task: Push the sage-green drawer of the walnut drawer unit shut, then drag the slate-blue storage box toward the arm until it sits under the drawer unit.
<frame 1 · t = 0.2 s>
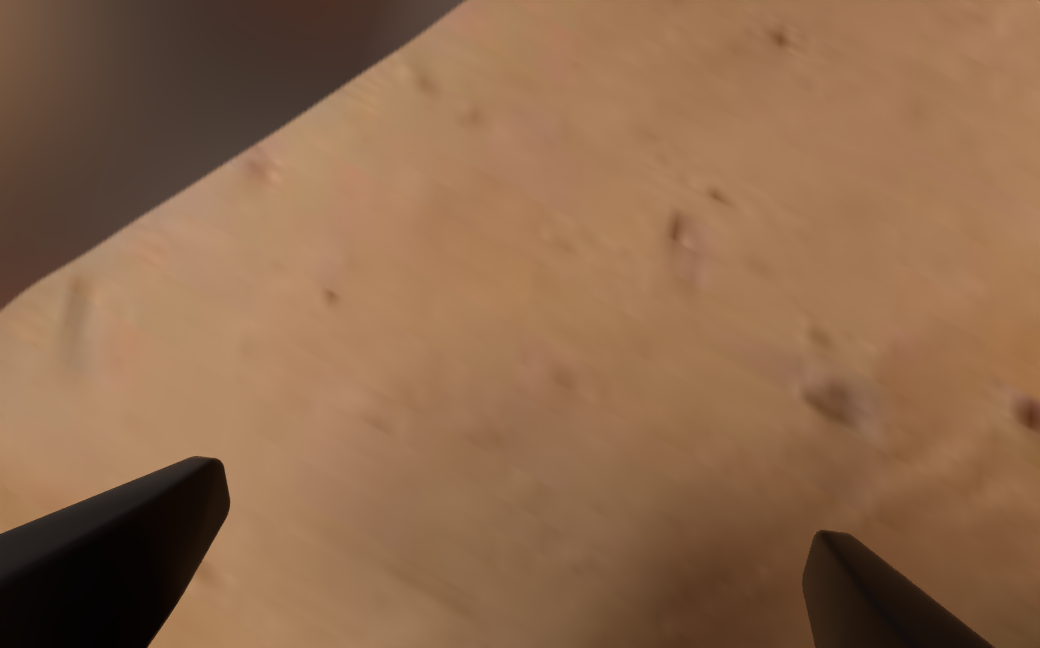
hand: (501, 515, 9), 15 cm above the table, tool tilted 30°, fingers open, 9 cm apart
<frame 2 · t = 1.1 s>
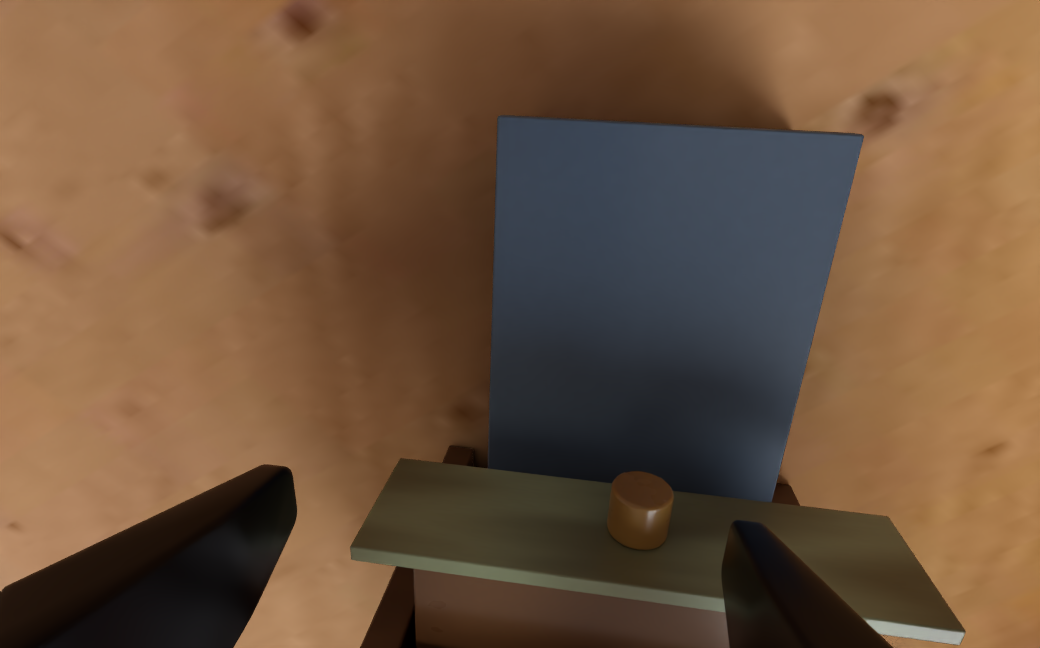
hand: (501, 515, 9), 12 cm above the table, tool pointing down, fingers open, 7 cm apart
storage box: (634, 308, 20), on the table
drawer: (619, 645, 15), point 8 cm above the table, slide at 3.0 cm
drawer unit: (603, 555, 24), on the table
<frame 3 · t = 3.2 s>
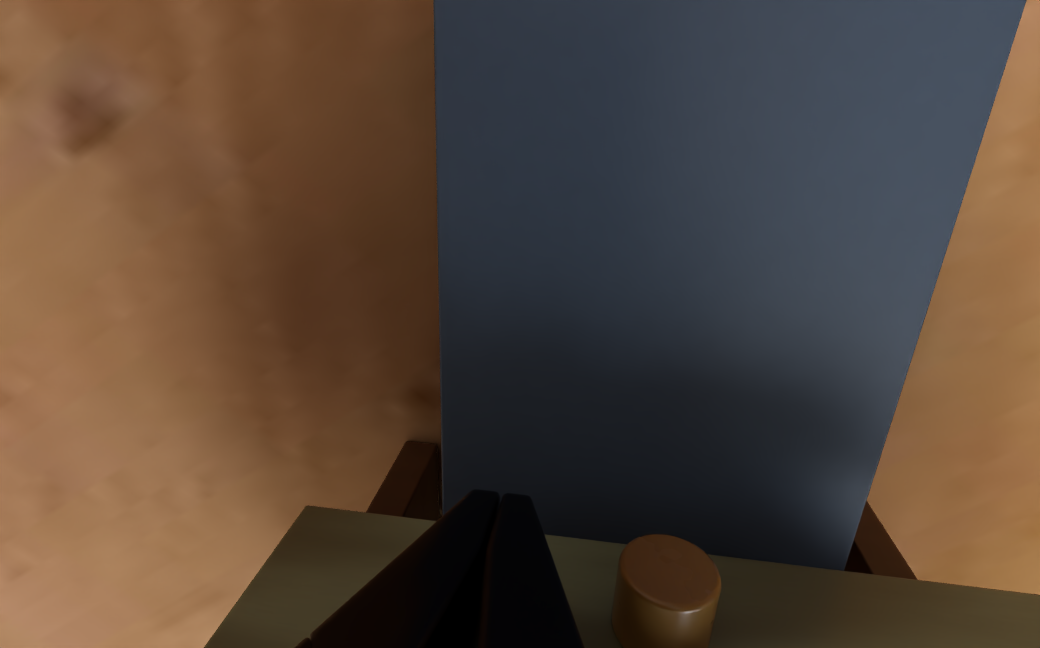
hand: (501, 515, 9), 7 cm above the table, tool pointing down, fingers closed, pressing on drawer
storage box: (649, 247, 14), on the table
drawer unit: (608, 581, 18), on the table
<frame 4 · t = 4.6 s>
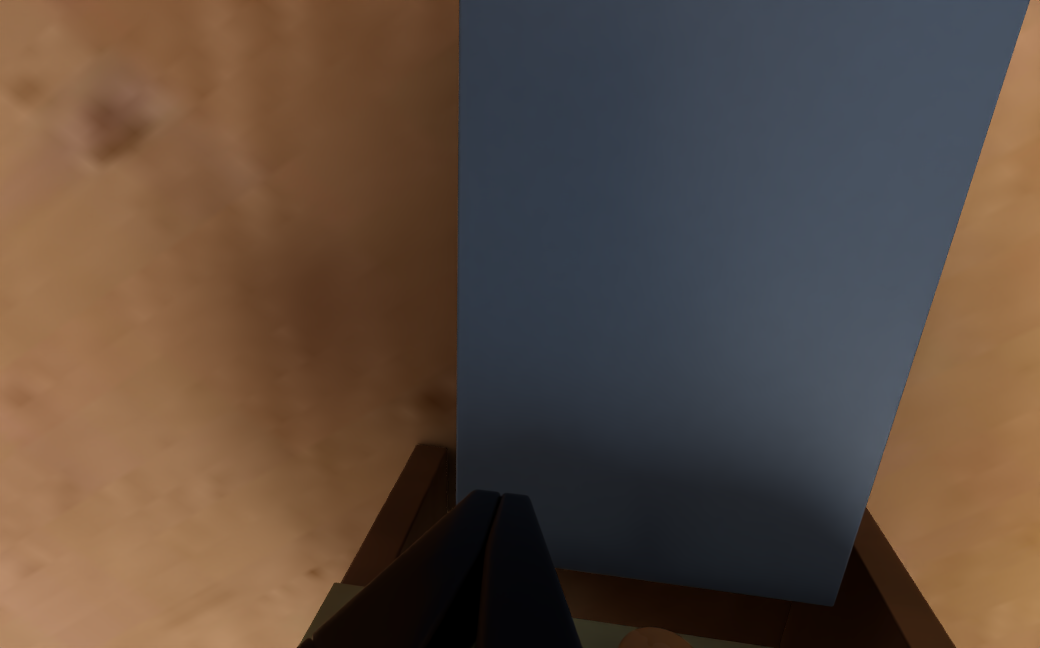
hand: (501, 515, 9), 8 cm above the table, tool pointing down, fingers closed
storage box: (657, 259, 15), on the table
drawer unit: (613, 584, 19), on the table
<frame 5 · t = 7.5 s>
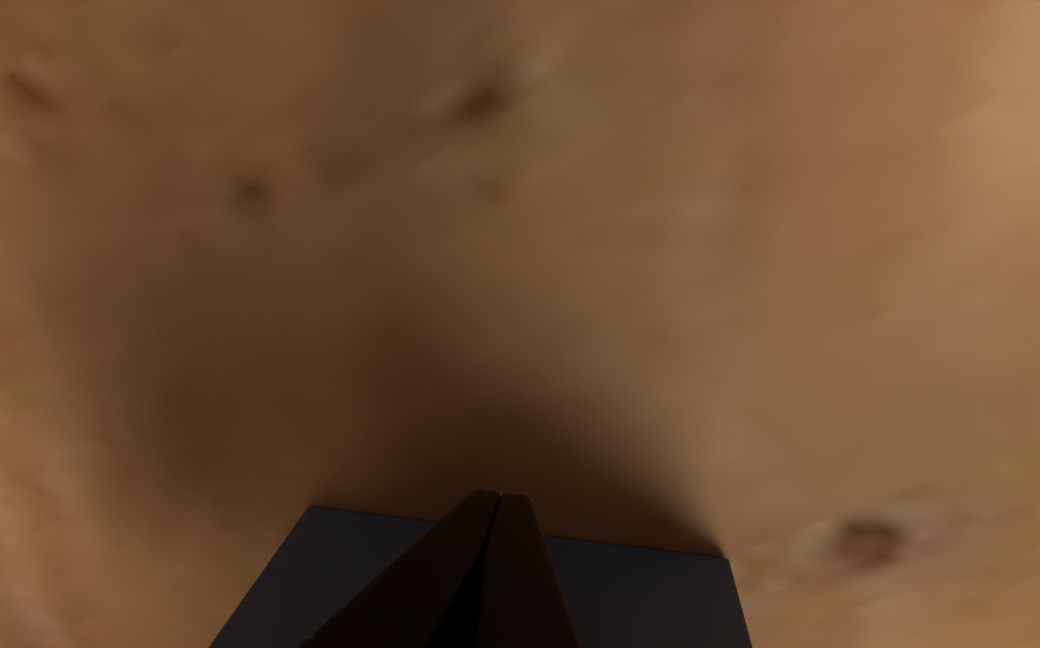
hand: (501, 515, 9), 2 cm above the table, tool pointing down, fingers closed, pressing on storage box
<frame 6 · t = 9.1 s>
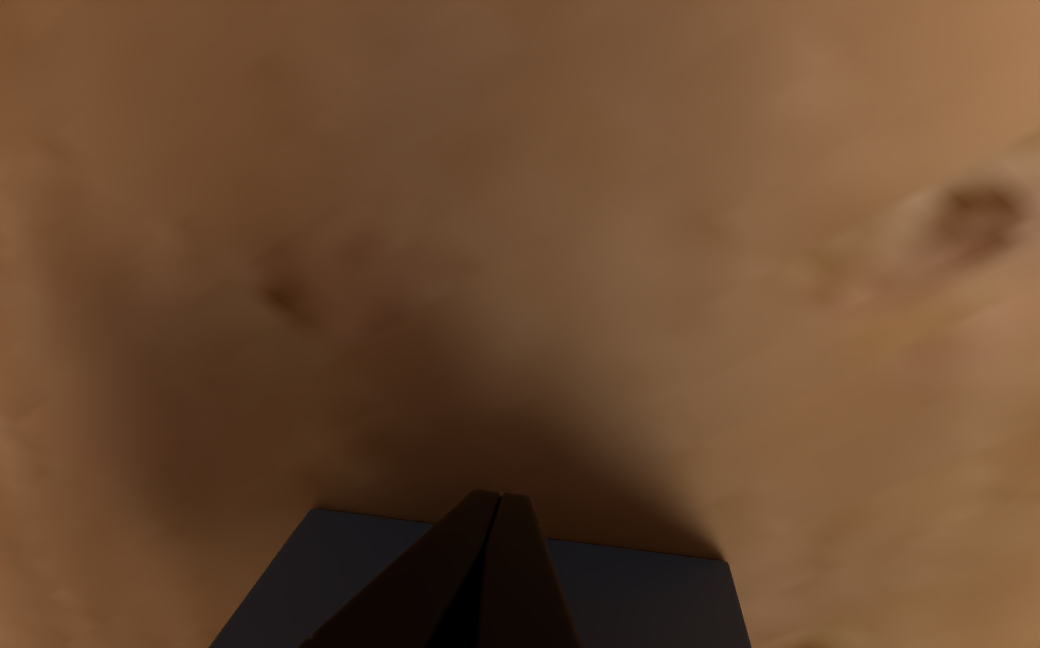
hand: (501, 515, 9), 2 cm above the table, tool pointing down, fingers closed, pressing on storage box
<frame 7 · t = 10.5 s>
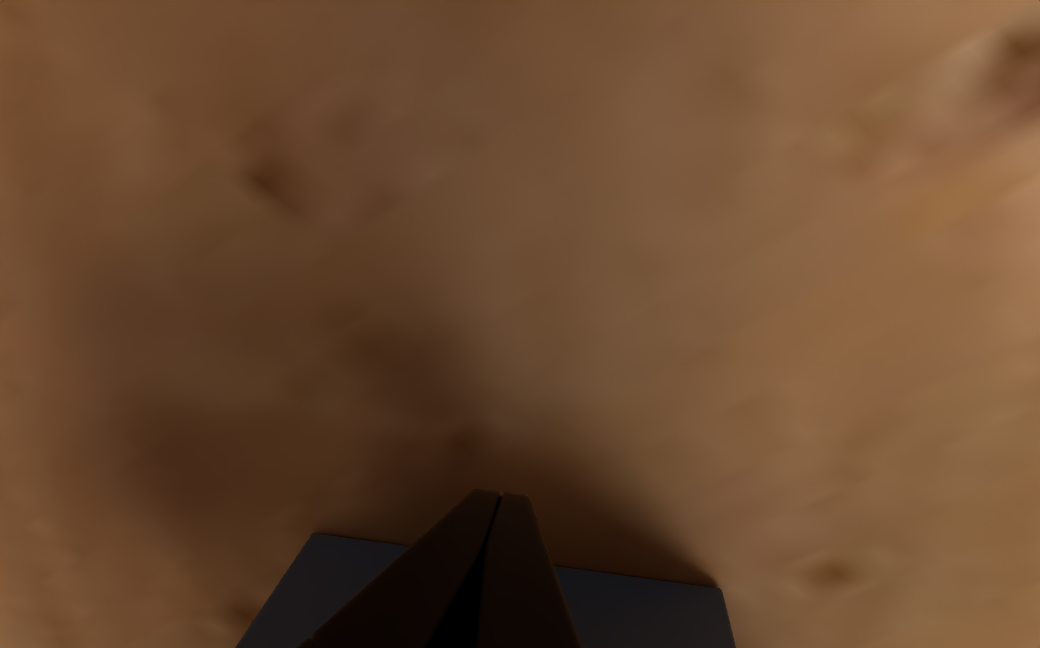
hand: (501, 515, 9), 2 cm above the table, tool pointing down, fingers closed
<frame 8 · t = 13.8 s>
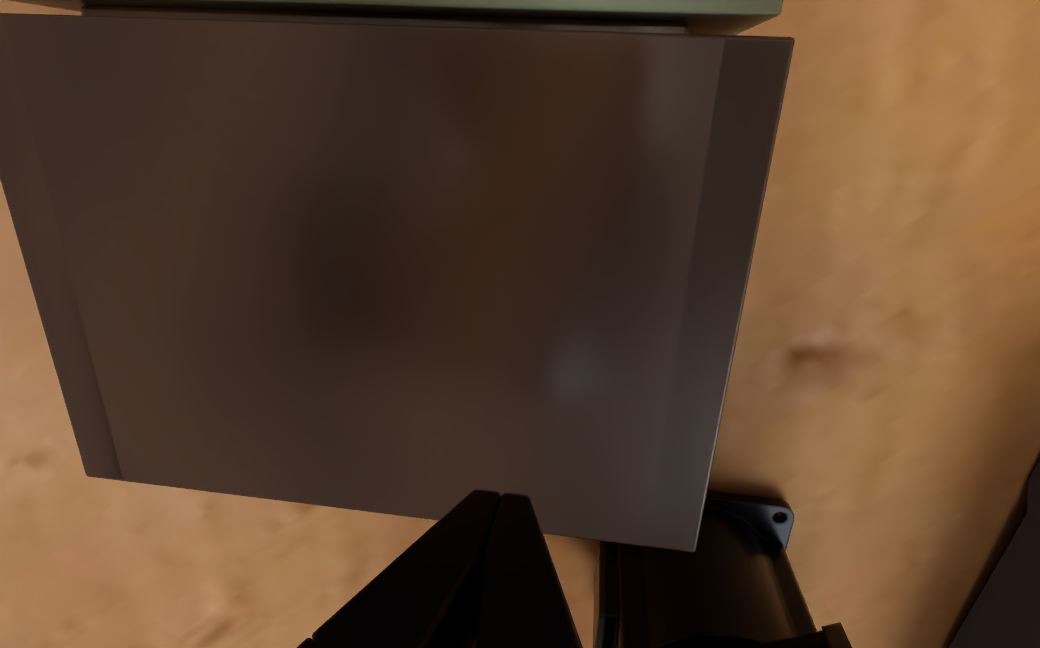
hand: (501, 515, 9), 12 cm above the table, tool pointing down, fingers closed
drawer: (390, 208, 11), point 8 cm above the table, slide at 0.0 cm
drawer unit: (473, 208, 19), on the table
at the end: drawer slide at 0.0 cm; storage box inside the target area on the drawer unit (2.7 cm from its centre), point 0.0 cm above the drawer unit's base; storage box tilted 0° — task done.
